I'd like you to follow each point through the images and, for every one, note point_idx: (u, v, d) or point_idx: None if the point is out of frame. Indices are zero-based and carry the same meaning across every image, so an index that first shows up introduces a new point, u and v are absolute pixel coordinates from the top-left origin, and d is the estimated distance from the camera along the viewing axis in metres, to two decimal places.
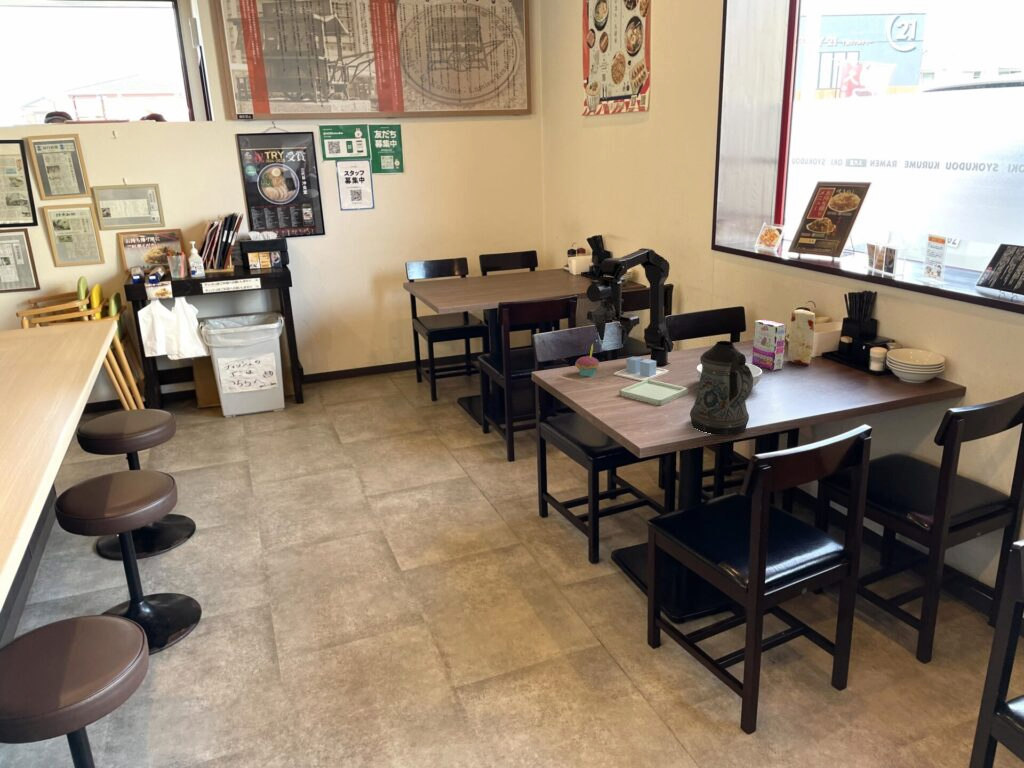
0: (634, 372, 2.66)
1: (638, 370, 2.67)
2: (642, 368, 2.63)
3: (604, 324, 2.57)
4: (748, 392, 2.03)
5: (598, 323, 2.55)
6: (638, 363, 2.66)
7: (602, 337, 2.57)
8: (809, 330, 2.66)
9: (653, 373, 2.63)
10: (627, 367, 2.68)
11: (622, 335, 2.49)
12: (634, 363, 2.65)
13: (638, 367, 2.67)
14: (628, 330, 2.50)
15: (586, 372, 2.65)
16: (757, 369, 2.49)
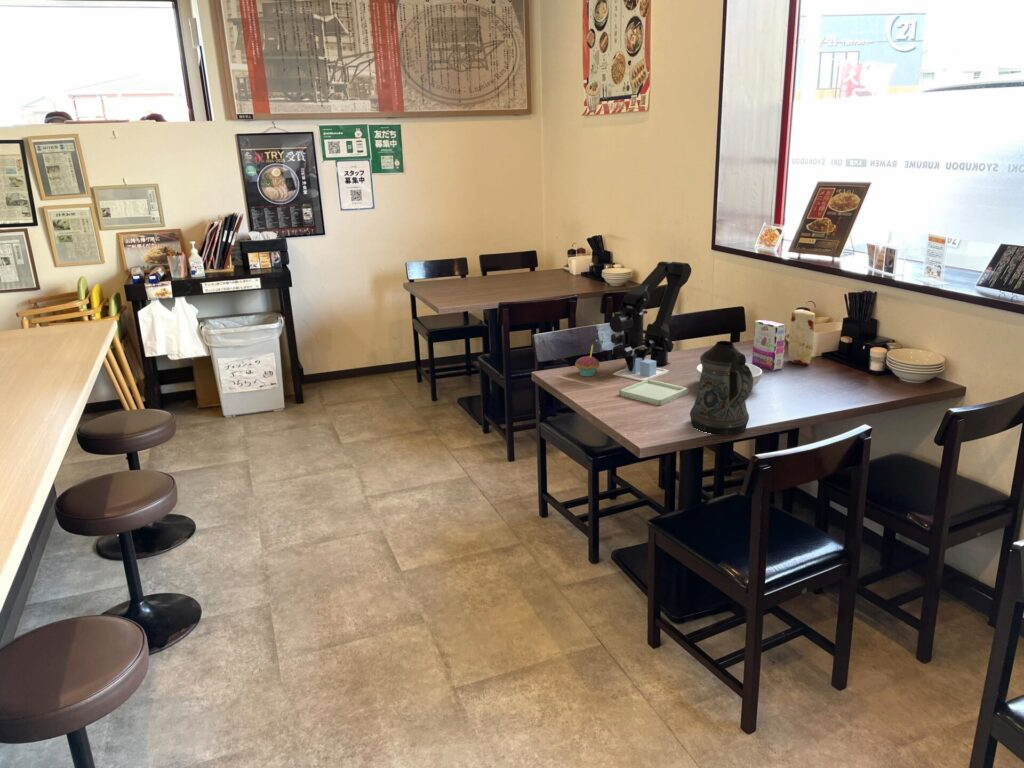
0: (634, 372, 2.66)
1: (638, 370, 2.67)
2: (642, 368, 2.63)
3: (642, 355, 2.67)
4: (748, 392, 2.03)
5: (636, 351, 2.69)
6: (638, 363, 2.66)
7: None
8: (809, 330, 2.66)
9: (653, 373, 2.63)
10: (627, 367, 2.68)
11: None
12: (634, 363, 2.65)
13: (638, 367, 2.67)
14: (630, 359, 2.64)
15: (586, 372, 2.65)
16: (757, 369, 2.49)
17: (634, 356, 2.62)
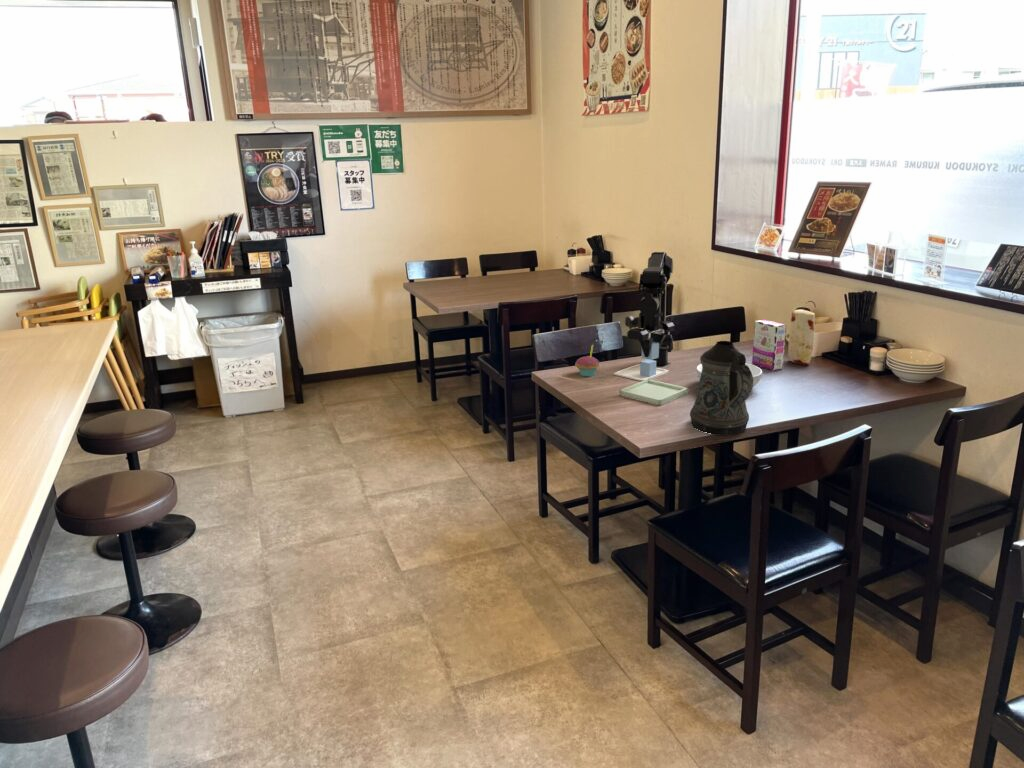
0: (650, 358, 2.45)
1: (654, 356, 2.46)
2: (642, 368, 2.63)
3: (659, 339, 2.46)
4: (748, 392, 2.03)
5: (652, 336, 2.48)
6: (654, 348, 2.45)
7: None
8: (809, 330, 2.66)
9: (653, 373, 2.63)
10: (642, 353, 2.46)
11: None
12: None
13: (655, 352, 2.45)
14: (646, 344, 2.43)
15: (586, 372, 2.65)
16: (757, 369, 2.49)
17: (650, 340, 2.41)
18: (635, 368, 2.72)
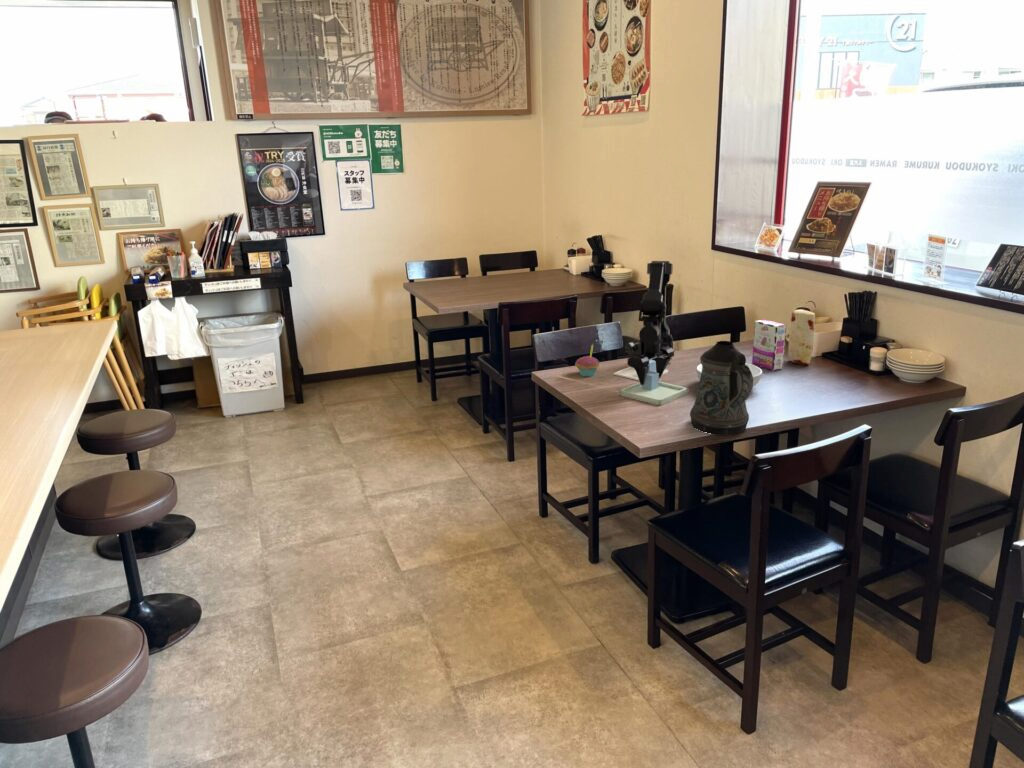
0: (650, 388, 2.48)
1: (654, 386, 2.48)
2: None
3: (663, 364, 2.50)
4: (748, 392, 2.03)
5: (657, 360, 2.52)
6: (654, 379, 2.48)
7: None
8: (809, 330, 2.66)
9: None
10: None
11: None
12: (650, 378, 2.47)
13: (655, 382, 2.48)
14: (642, 372, 2.43)
15: (586, 372, 2.65)
16: (757, 369, 2.49)
17: (646, 369, 2.41)
18: None
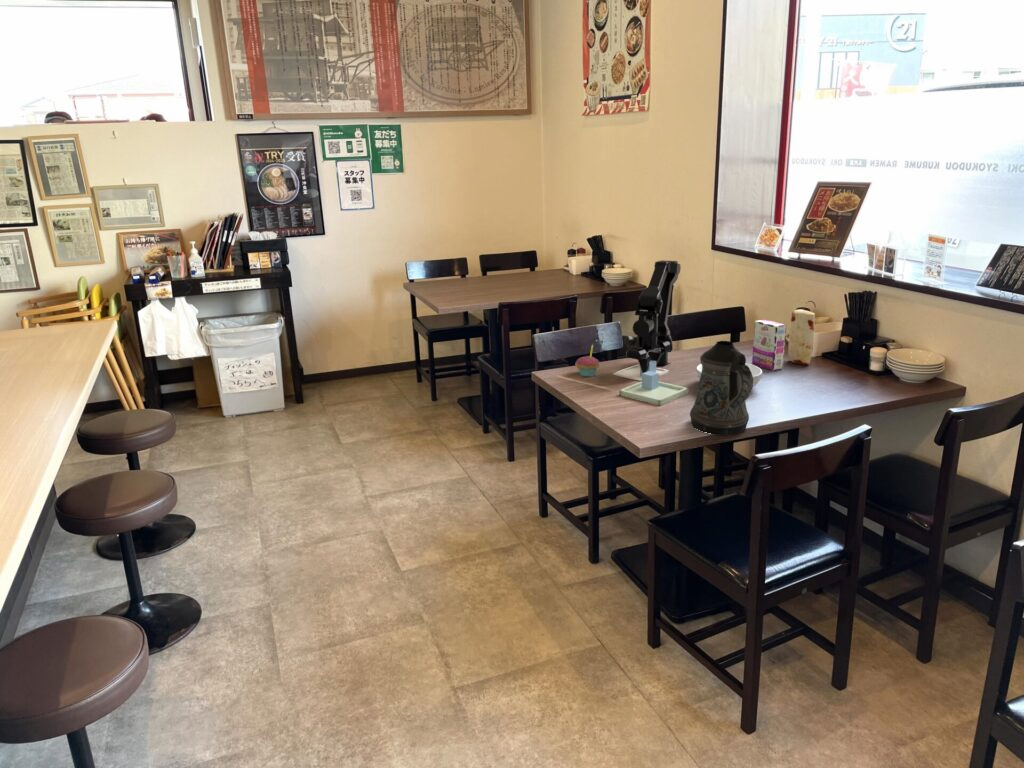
0: (650, 388, 2.48)
1: (654, 386, 2.48)
2: None
3: (656, 358, 2.63)
4: (748, 392, 2.03)
5: (650, 354, 2.65)
6: (654, 379, 2.48)
7: None
8: (809, 330, 2.66)
9: None
10: (642, 383, 2.49)
11: None
12: (650, 378, 2.47)
13: (655, 382, 2.48)
14: (644, 362, 2.60)
15: (586, 372, 2.65)
16: (757, 369, 2.49)
17: (648, 359, 2.58)
18: (635, 368, 2.72)
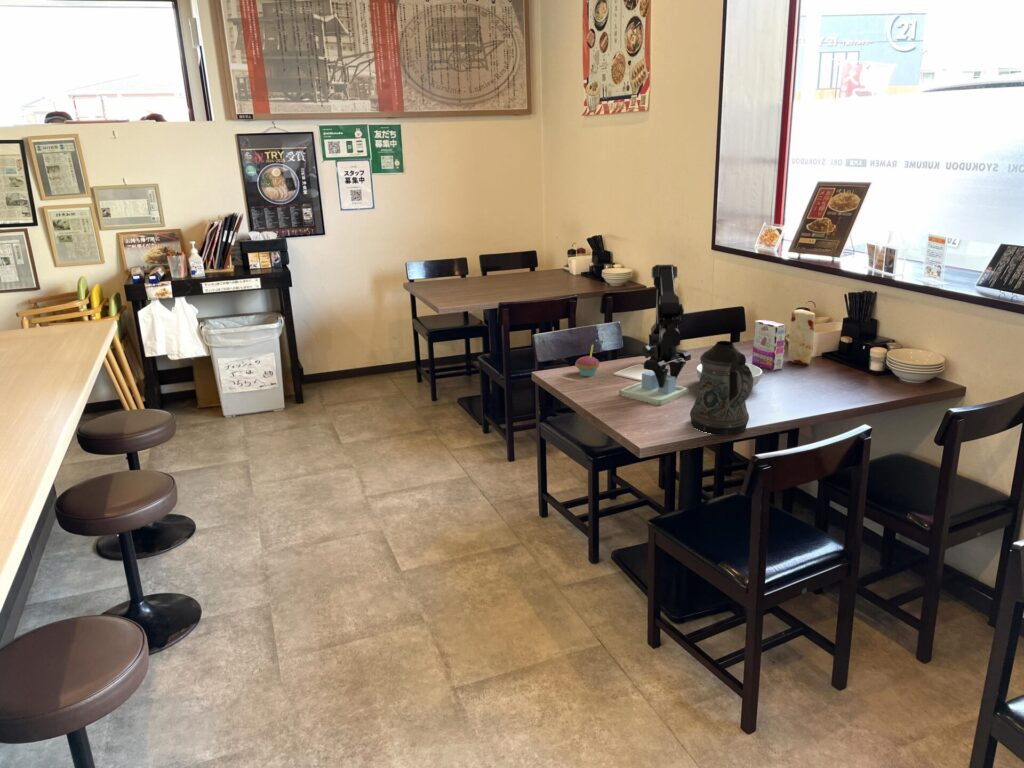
0: (650, 388, 2.48)
1: (654, 386, 2.48)
2: None
3: (677, 368, 2.45)
4: (748, 392, 2.03)
5: (671, 364, 2.46)
6: (654, 379, 2.48)
7: None
8: (809, 330, 2.66)
9: (672, 390, 2.44)
10: (642, 383, 2.49)
11: None
12: (650, 378, 2.47)
13: (655, 382, 2.48)
14: (661, 374, 2.40)
15: (586, 372, 2.65)
16: (757, 369, 2.49)
17: (666, 371, 2.38)
18: (635, 368, 2.72)
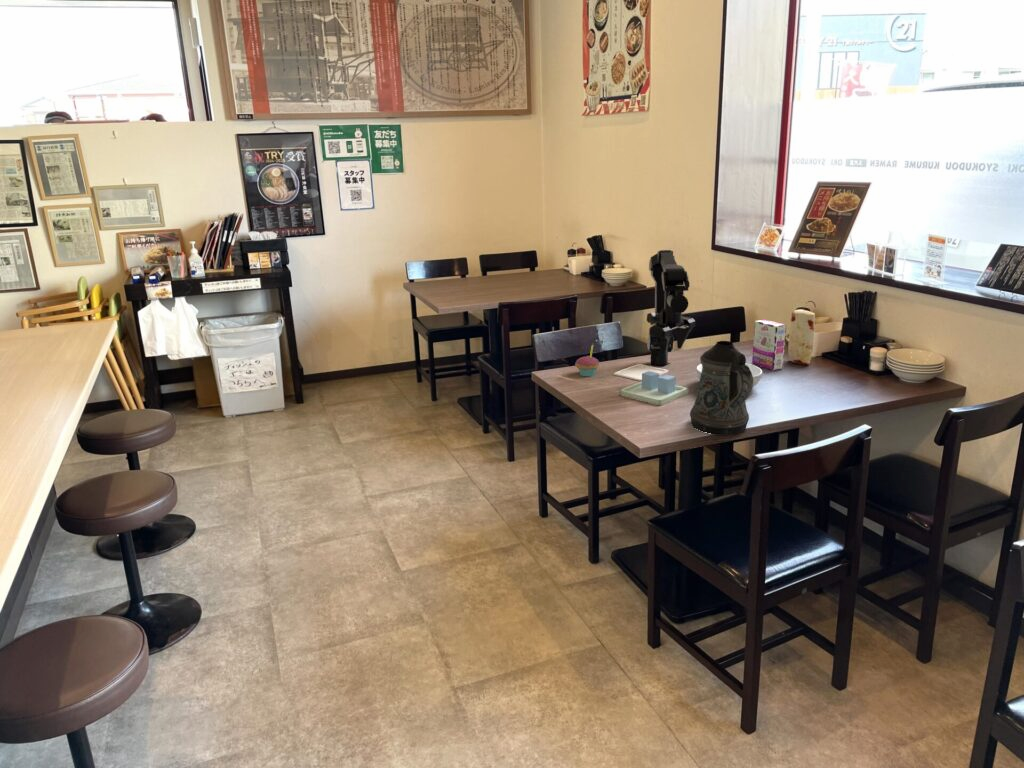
0: (650, 388, 2.48)
1: (654, 386, 2.48)
2: (660, 384, 2.44)
3: (684, 334, 2.52)
4: (748, 392, 2.03)
5: (677, 330, 2.54)
6: (654, 379, 2.48)
7: (679, 345, 2.54)
8: (809, 330, 2.66)
9: (672, 390, 2.44)
10: (642, 383, 2.49)
11: None
12: (650, 378, 2.47)
13: (655, 382, 2.48)
14: (664, 341, 2.45)
15: (586, 372, 2.65)
16: (757, 369, 2.49)
17: (668, 338, 2.43)
18: (635, 368, 2.72)
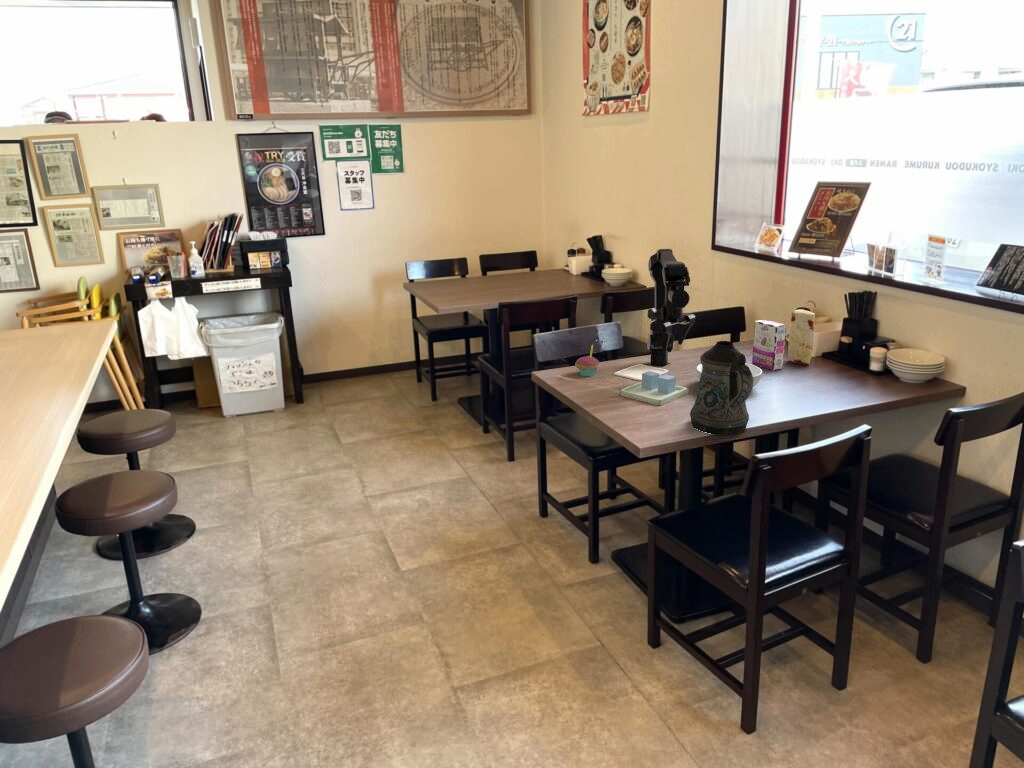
0: (650, 388, 2.48)
1: (654, 386, 2.48)
2: (660, 384, 2.44)
3: (685, 330, 2.52)
4: (748, 392, 2.03)
5: (678, 326, 2.54)
6: (654, 379, 2.48)
7: (679, 341, 2.55)
8: (809, 330, 2.66)
9: (672, 390, 2.44)
10: (642, 383, 2.49)
11: None
12: (650, 378, 2.47)
13: (655, 382, 2.48)
14: (665, 337, 2.46)
15: (586, 372, 2.65)
16: (757, 369, 2.49)
17: (669, 333, 2.44)
18: (635, 368, 2.72)
